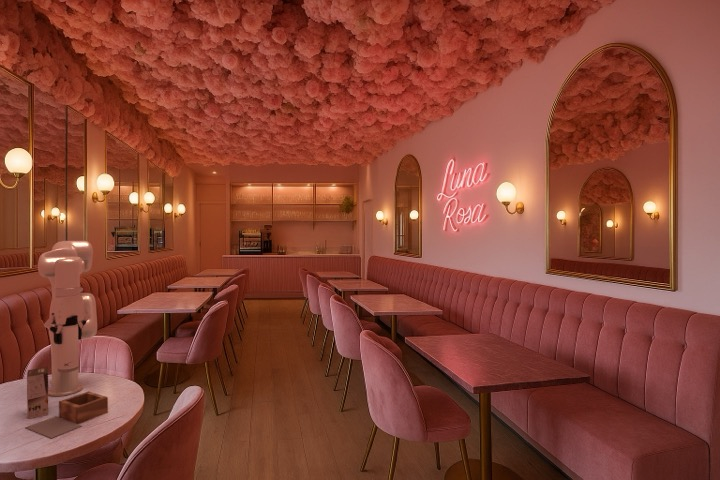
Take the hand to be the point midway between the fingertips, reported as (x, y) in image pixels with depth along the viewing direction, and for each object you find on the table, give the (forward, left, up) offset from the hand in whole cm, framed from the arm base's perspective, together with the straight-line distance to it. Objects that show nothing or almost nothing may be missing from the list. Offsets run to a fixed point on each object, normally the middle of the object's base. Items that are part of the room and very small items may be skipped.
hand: (68, 341), depth 156 cm
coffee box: (-18, -1, -30) cm, 35 cm away
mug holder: (-1, +6, -30) cm, 30 cm away
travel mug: (0, 0, -11) cm, 11 cm away
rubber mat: (0, -5, -30) cm, 30 cm away
